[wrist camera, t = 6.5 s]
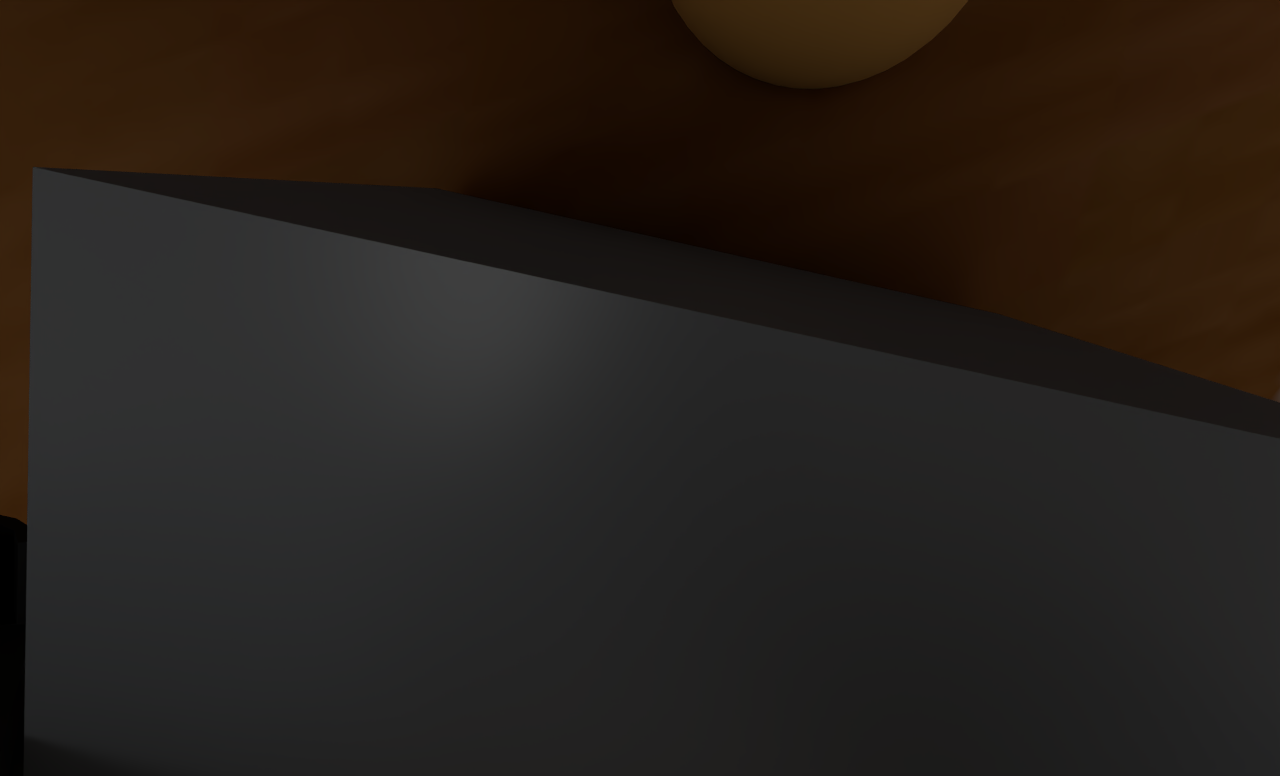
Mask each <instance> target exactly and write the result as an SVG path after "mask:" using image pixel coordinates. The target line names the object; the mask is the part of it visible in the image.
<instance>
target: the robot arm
mask: <svg viewBox="0 0 1280 776" xmlns="http://www.w3.org/2000/svg"><path fill="white" fill-rule="evenodd" d="M26 581H27V525H26V524H24V523H23V522H21V521H20V520H18V519H16V518H12V517H7V516H2V515H0V776H23V772H24V708H25V644H26Z"/></svg>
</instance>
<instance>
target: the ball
mask: <svg viewBox="0 0 1280 776" xmlns="http://www.w3.org/2000/svg"><path fill="white" fill-rule="evenodd" d="M671 1H672V3H673V5H674V7H675V9H676V10H677V12H678V13H679V15H680V16H681V18H682V19H683V21H684V22H685V24H686V25H687V27H688V28H689V29H690V30H691V32H692V33H693V34H694V35H695V36H696V37H697V38H698V40H699V41H700V42H701V43H702V44H703V45H704V46H705V47H706V48H707V49H708V50H709V51H711V52H712V53H713V54H714V55H715V56H716V57H717V58H719V59H720V60H722V61H723V62H725V63H726V64H728V65H729V66H731V67H732V68H734V69H735V70H737V71H739V72H741V73H744V74H746V75H748V76H750V77H752V78H754V79H757V80H760V81H763V82H767V83H770V84H773V85H777V86H783V87H789V88H795V89H821V88H830V87H838V86H842V85H846V84H849V83H853V82H857V81H861V80H864V79H867V78H869V77H871V76H874V75H876V74H879V73H881V72H884V71H886V70H888V69H890V68H891V67H893V66H895V65H897V64H898V63H900V62H902V61H904V60H906V59H907V58H908V57H910V56H911V55H912V54H914V53H915V52H916V51H918V50H919V49H920V48H922V47H923V46H924V45H926V44H927V43H928V42H930V41H931V40H932V39H933V38H934V37H935V36H937V35H938V34H939V33H940V32H941V31H942V30H943V29H944V28H945V27H946V26H947V25H948V24H949V23H950V22H951V21H952V20H953V19H954V17H955V16H956V15H957V14H958V12H959V11H960V10H961V9H962V8H963V6H964V5H965V4H966V3H967V1H968V0H671Z"/></svg>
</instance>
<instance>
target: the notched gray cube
mask: <svg viewBox="0 0 1280 776" xmlns="http://www.w3.org/2000/svg"><path fill="white" fill-rule="evenodd" d="M23 776H1280V403H1279V402H1276V401H1273V400H1270V399H1266V398H1263V397H1260V396H1257V395H1254V394H1251V393H1247V392H1244V391H1241V390H1238V389H1235V388H1232V387H1228V386H1225V385H1222V384H1219V383H1216V382H1212V381H1209V380H1206V379H1203V378H1200V377H1197V376H1193V375H1190V374H1187V373H1184V372H1181V371H1178V370H1174V369H1171V368H1168V367H1165V366H1162V365H1159V364H1155V363H1152V362H1149V361H1146V360H1143V359H1140V358H1136V357H1133V356H1130V355H1127V354H1124V353H1121V352H1117V351H1114V350H1111V349H1108V348H1105V347H1102V346H1098V345H1095V344H1092V343H1089V342H1086V341H1083V340H1079V339H1076V338H1073V337H1070V336H1067V335H1064V334H1060V333H1057V332H1054V331H1051V330H1048V329H1045V328H1041V327H1038V326H1035V325H1032V324H1029V323H1025V322H1022V321H1019V320H1016V319H1013V318H1010V317H1006V316H1003V315H1000V314H996V313H992V312H987V311H983V310H978V309H974V308H969V307H965V306H960V305H956V304H952V303H947V302H943V301H938V300H934V299H929V298H925V297H920V296H916V295H911V294H907V293H902V292H898V291H893V290H889V289H884V288H880V287H875V286H871V285H867V284H862V283H858V282H853V281H849V280H844V279H840V278H835V277H831V276H826V275H822V274H817V273H813V272H808V271H804V270H799V269H795V268H790V267H786V266H781V265H777V264H773V263H768V262H764V261H759V260H755V259H750V258H746V257H741V256H737V255H732V254H728V253H723V252H719V251H714V250H710V249H705V248H701V247H696V246H692V245H688V244H683V243H679V242H674V241H670V240H665V239H661V238H656V237H652V236H647V235H643V234H638V233H634V232H629V231H625V230H620V229H616V228H611V227H607V226H602V225H598V224H594V223H589V222H585V221H580V220H576V219H571V218H567V217H562V216H558V215H553V214H549V213H544V212H540V211H535V210H531V209H526V208H522V207H517V206H513V205H509V204H504V203H500V202H495V201H491V200H486V199H482V198H477V197H473V196H468V195H464V194H459V193H455V192H450V191H446V190H441V189H437V188H418V187H400V186H381V185H362V184H343V183H325V182H306V181H287V180H268V179H249V178H231V177H212V176H193V175H174V174H155V173H137V172H118V171H99V170H80V169H61V168H43V167H33V198H32V262H31V325H30V389H29V453H28V517H27V581H26V644H25V708H24V772H23Z"/></svg>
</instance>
